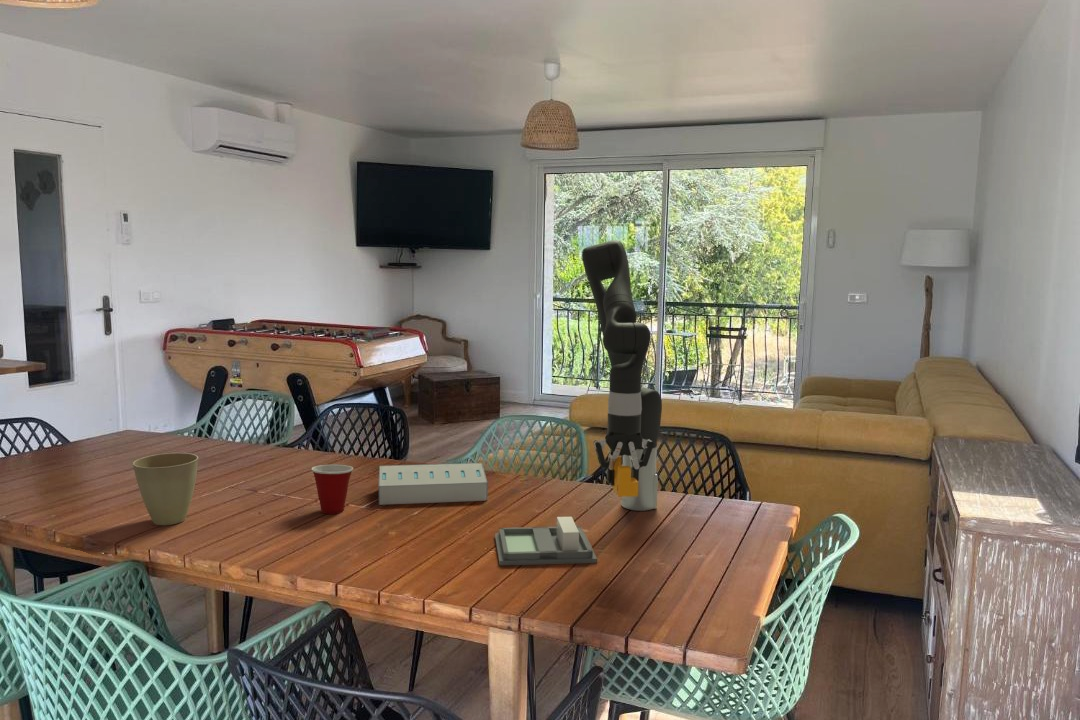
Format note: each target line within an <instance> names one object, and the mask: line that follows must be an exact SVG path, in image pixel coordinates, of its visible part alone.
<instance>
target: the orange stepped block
mask: <svg viewBox="0 0 1080 720" xmlns="http://www.w3.org/2000/svg"><path fill="white" fill-rule="evenodd" d="M607 457H608V458H609V454H608V456H607ZM614 470H615V478H614V486H611V488H612V490H613V491H614V492H615V494H616V495H617V496H618V497H619V498H621V497H633V496H638V481H637V480H636V479H635V478H631V468H630V466H623V465H622V456H618V459H617V461H616V463H615V466H614ZM608 484H609V485H610V483H608Z"/></svg>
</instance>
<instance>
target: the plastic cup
mask: <svg viewBox="0 0 1080 720" xmlns="http://www.w3.org/2000/svg"><path fill="white" fill-rule="evenodd" d="M311 471H312V472H313V477H314V480H315V486H316V490H317V496H318V501H319V506H320V511H321V513H323V514H327V515H334V514H335V515H336V514H340V513H342V512H344V509H345V506H346V499H347V496H348V495H347V494H348V489H349V483H350V478H351V475H352V472H353V471H354V467H353V466H351V465H344V464H322V465H321V464H320V465H316V466H312V467H311Z"/></svg>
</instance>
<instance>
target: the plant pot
mask: <svg viewBox="0 0 1080 720" xmlns="http://www.w3.org/2000/svg"><path fill="white" fill-rule="evenodd" d="M198 464H199V456H198V455H197V454H195V453H190V452H189V453H187V452H168V453H158V454H153V455H152V454H151V455H148V456H144V457H140V458H138V459H136V460H134V461H133V462H132V467H133V471H134V475H135V479H136V484H137V487H138V489H139V493H140V495H141V498H142V501H143V504H144V506H145V508H146V511H147V512H148V515H149V517H150V519H151V521H152V523H153V524H154V525H156V526H172V525H177V524H179V523H183V521H185V520H186V518H187V515H188V511H189V509H190V506H191V502H192V499H193V495H194V490H195V485H196V480H197V475H198V466H199V465H198Z"/></svg>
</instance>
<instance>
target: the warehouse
mask: <svg viewBox="0 0 1080 720" xmlns="http://www.w3.org/2000/svg"><path fill="white" fill-rule="evenodd" d="M378 470H379V473H378V505H379V506H381V505H382V506H383V505H404V504H406V505H407V504H411V505H412V504H430V503H431V504H432V503H434V504H435V503H437V504H438V503H454V502H455V503H457V502H480V501H481V502H482V501H488V494H489V493H488V484H489V483H488V482H489V481H488V480H487V476H486V471H485V469H484V465H483V462H465V463H464V462H463V463H461V462H459V463H456V462H455V463H429V464H426V463H425V464H424V463H423V464H394V465H393V464H392V465H379V468H378Z"/></svg>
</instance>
